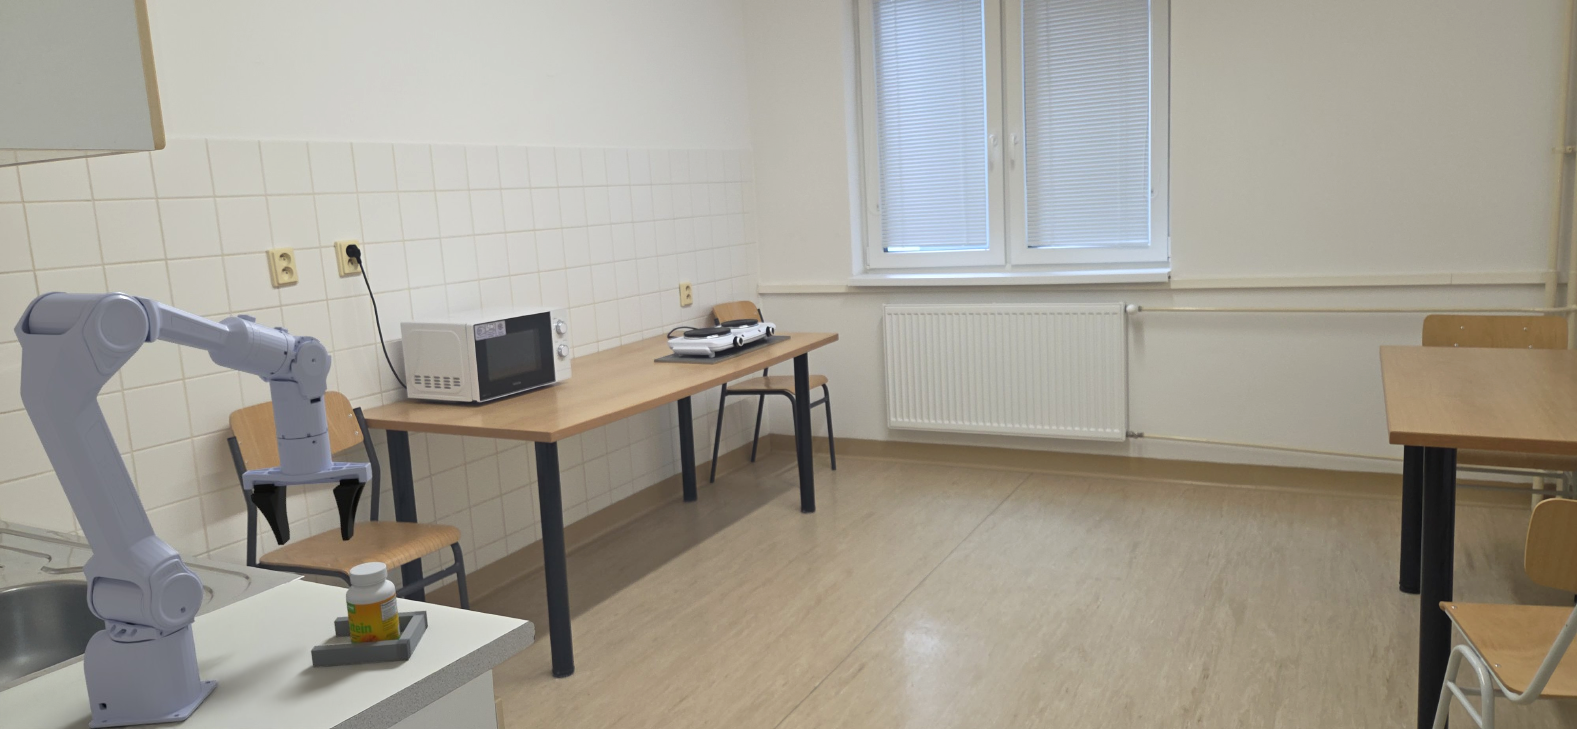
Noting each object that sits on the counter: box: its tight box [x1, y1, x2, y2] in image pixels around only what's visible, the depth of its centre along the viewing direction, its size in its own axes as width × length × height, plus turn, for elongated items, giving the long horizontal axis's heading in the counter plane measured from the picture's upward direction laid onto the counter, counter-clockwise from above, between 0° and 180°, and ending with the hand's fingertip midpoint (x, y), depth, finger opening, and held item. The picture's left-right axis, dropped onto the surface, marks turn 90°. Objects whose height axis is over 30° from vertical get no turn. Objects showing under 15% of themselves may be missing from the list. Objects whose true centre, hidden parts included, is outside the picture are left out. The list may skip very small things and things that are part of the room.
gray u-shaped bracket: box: [310, 610, 429, 668], centre depth 121 cm, size 10×9×2 cm
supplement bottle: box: [345, 561, 401, 643], centre depth 120 cm, size 5×5×10 cm
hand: (316, 540), depth 127 cm, fingers open, 7 cm apart
